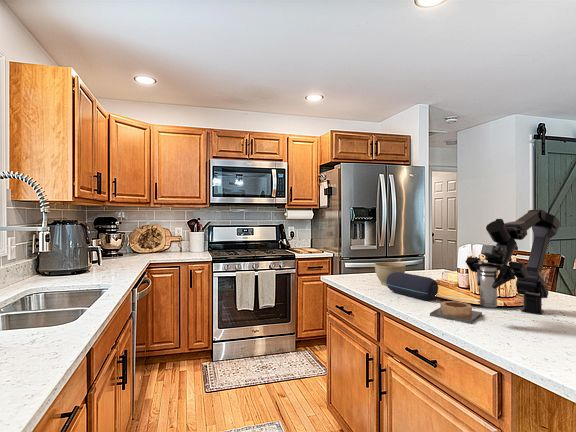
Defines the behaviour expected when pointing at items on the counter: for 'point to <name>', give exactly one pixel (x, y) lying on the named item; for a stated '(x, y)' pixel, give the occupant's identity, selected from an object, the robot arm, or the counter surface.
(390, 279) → the portable speaker
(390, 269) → the planter bowl
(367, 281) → the counter surface
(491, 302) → the steel piston
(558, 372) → the counter surface
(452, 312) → the piston socket base
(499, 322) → the counter surface
